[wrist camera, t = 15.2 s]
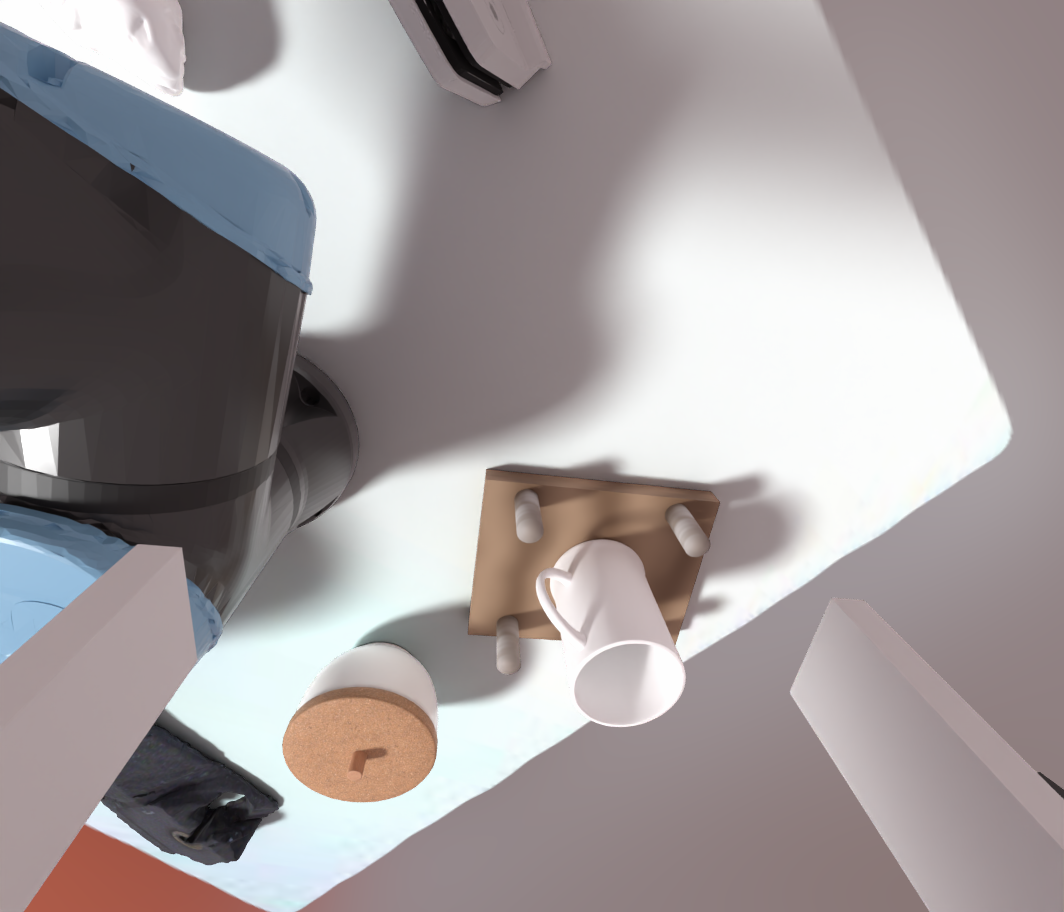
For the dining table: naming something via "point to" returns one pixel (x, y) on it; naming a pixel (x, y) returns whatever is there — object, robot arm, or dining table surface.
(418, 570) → the dining table surface
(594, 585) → the mug
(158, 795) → the dark slate chunk
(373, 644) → the lidded bowl
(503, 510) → the peg board
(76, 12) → the bust
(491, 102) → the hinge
